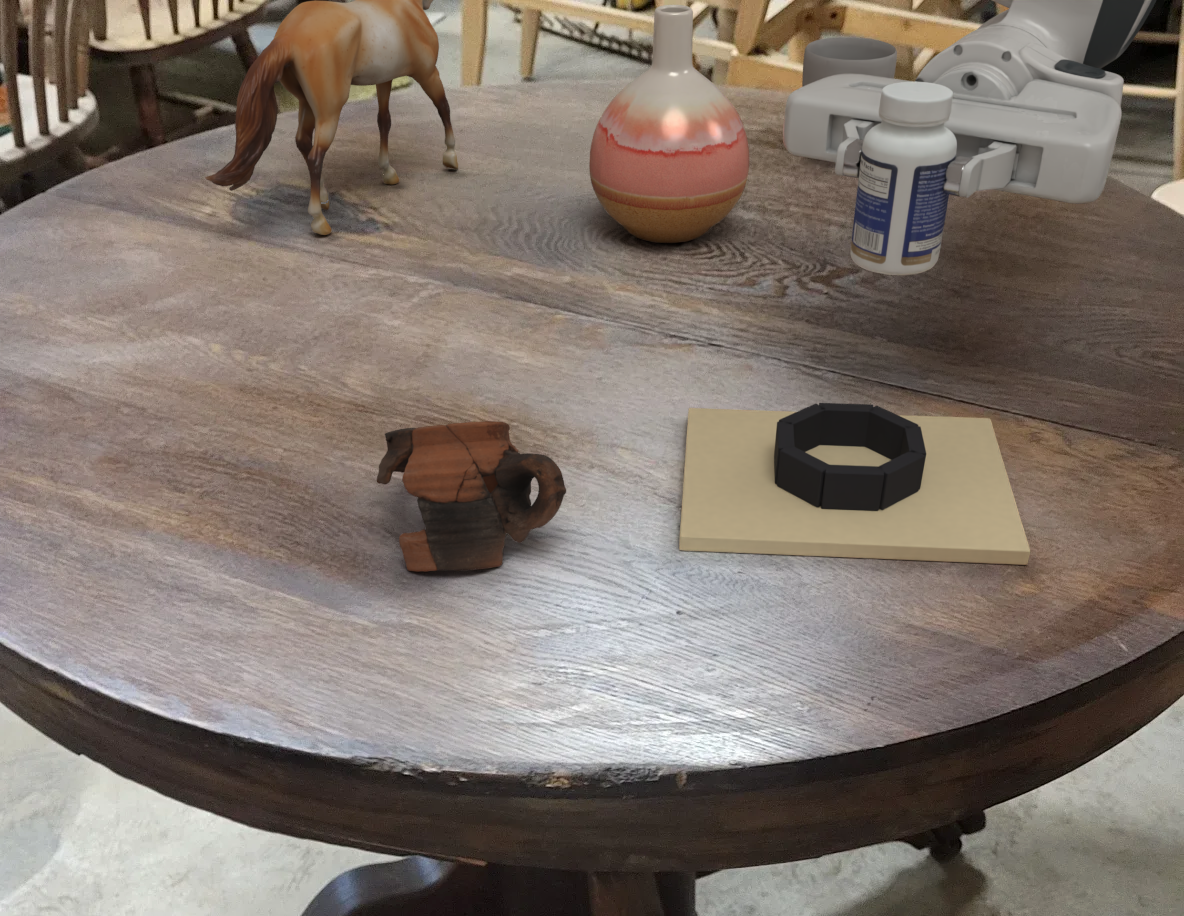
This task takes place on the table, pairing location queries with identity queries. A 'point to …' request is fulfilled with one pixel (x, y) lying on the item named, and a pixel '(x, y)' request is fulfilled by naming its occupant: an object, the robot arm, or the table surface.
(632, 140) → the vase
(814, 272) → the table surface
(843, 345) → the table surface
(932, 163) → the pill bottle
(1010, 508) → the socket pad
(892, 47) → the mug
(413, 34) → the horse figurine
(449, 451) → the pottery mug
